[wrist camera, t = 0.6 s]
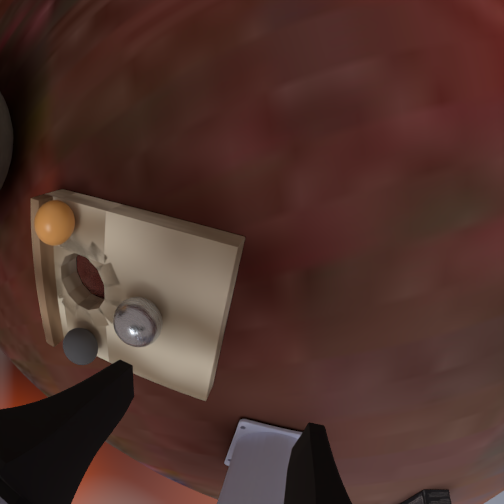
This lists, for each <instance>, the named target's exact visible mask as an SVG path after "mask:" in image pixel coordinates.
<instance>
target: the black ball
mask: <svg viewBox="0 0 504 504" xmlns="http://www.w3.org/2000/svg"><path fill="white" fill-rule="evenodd" d="M63 349H64V352H65V354H66V356H67V358H68V359H69V360H70V361H72V362H73V363H75V364H78V365H86V364H89V363H91V362H92V361H93V360H94V359H95V358H96V356H97V353H98V343H97V340H96V338H95V336H94V335H93V334H92V333H91V332H90V331H88V330H87V329H84V328H74V329H72V330H70V331H69V332H68V333H67V334H66V335H65V337H64V340H63Z"/></svg>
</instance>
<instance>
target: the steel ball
mask: <svg viewBox="0 0 504 504" xmlns="http://www.w3.org/2000/svg"><path fill="white" fill-rule="evenodd" d="M113 326H114V329H115V332H116V334H117V336H118V337H119V338H120V339H121V340H122V341H123V342H124V343H126V344H127V345H130V346H133V347H145V346H148V345H150V344H152V343H153V342H154V341H155V340H156V339H157V338H158V337H159V335H160V333H161V330H162V316H161V313H160V311H159V309H158V308H157V307H156V305H155V304H154V303H152V302H151V301H150V300H148V299H146V298H142V297H131V298H128V299H126V300H124V301H123V302H121V303H120V304H119V305H118V307H117V308H116V310H115V313H114V317H113Z"/></svg>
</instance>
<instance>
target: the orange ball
mask: <svg viewBox="0 0 504 504" xmlns="http://www.w3.org/2000/svg"><path fill="white" fill-rule="evenodd" d="M34 227H35V231H36V234H37V236H38V237H39V239H40V240H41V241H42V242H44V243H46V244H48V245H52V246H56V245H60V244H63V243H64V242H66V241H67V240H68V239H69V238H70V237H71V235H72V233H73V231H74V227H75V217H74V214H73V211H72V209H71V208H70V207H69V206H68V205H67V204H66V203H64V202H62V201H59V200H52V201H48V202H46V203H45V204H43V205H42V206H41V207H40V208H39V210H38V211H37V213H36V216H35V220H34Z"/></svg>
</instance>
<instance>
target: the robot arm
mask: <svg viewBox="0 0 504 504" xmlns="http://www.w3.org/2000/svg"><path fill="white" fill-rule="evenodd" d="M133 397H134V387H133V365H131V364H129V363H127V362H124V361H122V360H118V361H116V362H114V363H113V364H111V365H110V366H108V367H106V368H105V369H103V370H101V371H100V372H98V373H96V374H95V375H93V376H91V377H89V378H88V379H86V380H84V381H82V382H80V383H78V384H77V385H75V386H73V387H71V388H68V389H66V390H64V391H62V392H60V393H58V394H55V395H53V396H51V397H48V398H45V399H42V400H40V401H37V402H34V403H30V404H26V405H22V406H18V407H13V408H7V409H1V410H0V504H71V502H72V500H73V498H74V495H75V493H76V491H77V489H78V486H79V484H80V482H81V480H82V478H83V476H84V474H85V472H86V471H87V469H88V467H89V465H90V463H91V461H92V460H93V458H94V456H95V455H96V453H97V451H98V450H99V449H100V447H101V446H102V445H103V443H104V442H105V440H106V439H107V438H108V436H109V435H110V434H111V432H112V431H113V430H114V428H115V427H116V426H117V424H118V423H119V421H120V420H121V419H122V417H123V416H124V414H125V412H126V411H127V409H128V407H129V405H130V403H131V401H132V399H133ZM224 464H225V465H227V466H229V468H228V471H227V474H226V477H225V480H224V484H223V487H222V490H221V493H220V496H219V499H218V502H217V504H352V503H351V501H350V499H349V496H348V494H347V492H346V490H345V487H344V485H343V483H342V480H341V478H340V475H339V472H338V469H337V467H336V464H335V461H334V458H333V455H332V451H331V448H330V444H329V441H328V437H327V433H326V429H325V427H324V425H319V424H314V423H308V425H307V426H306V428H305V430H304V431H303V432H298V431H293V430H289V429H284V428H280V427H275V426H271V425H267V424H263V423H259V422H255V421H251V420H248V419H240V421H239V423H238V426H237V429H236V432H235V434H234V437H233V440H232V443H231V445H230V448H229V451H228V454H227V456H226V459H225V462H224Z"/></svg>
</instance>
